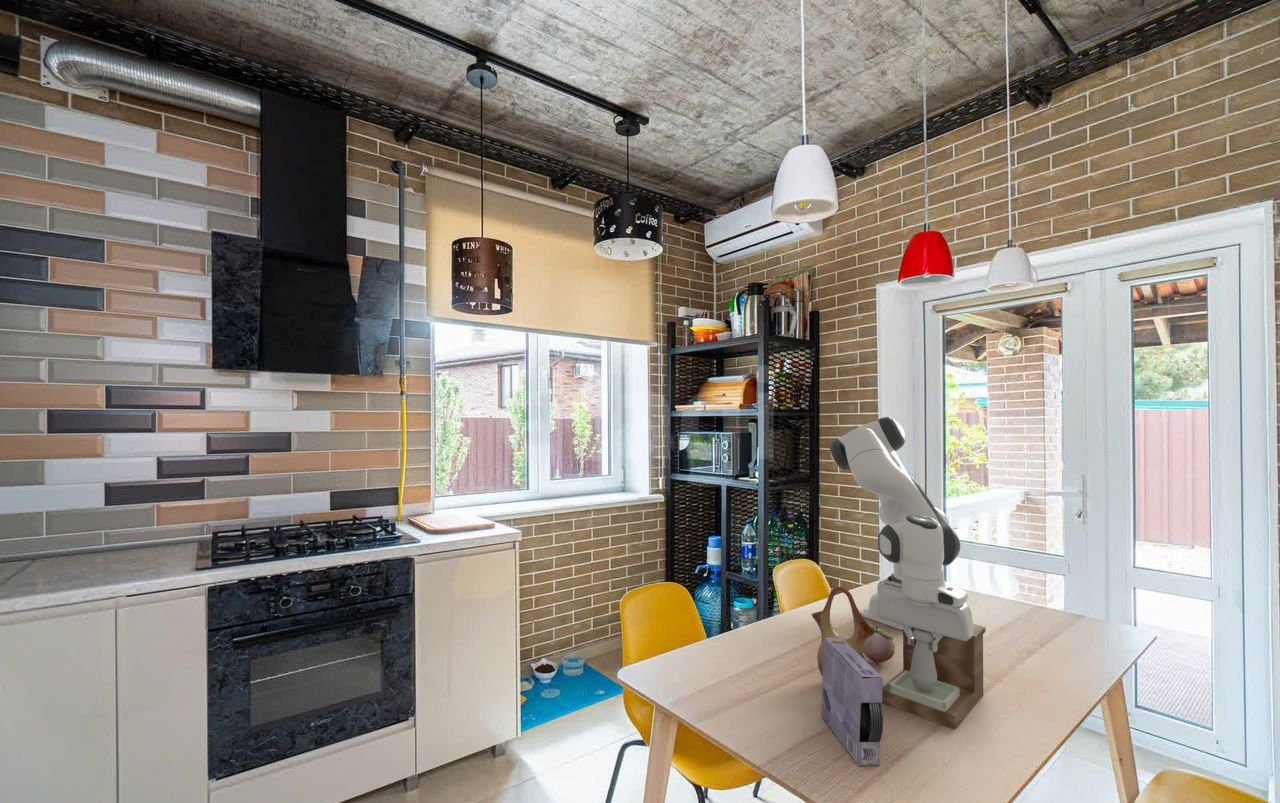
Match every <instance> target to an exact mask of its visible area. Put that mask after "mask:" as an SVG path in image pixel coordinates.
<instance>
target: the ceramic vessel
mask: <svg viewBox="0 0 1280 803" xmlns="http://www.w3.org/2000/svg"><path fill="white" fill-rule="evenodd" d="M837 592H840V593H843V594H845V595H846V596H847V599H848V602H849V605H850V608H851V613H852V616H853V617H852V618H853V626H854V627H853V633H852V635H851V636H849V637H845V636H843V635H840V634H839V633H838V632H837V631H836V630H835V629H834V627H833V626H832V622H831V608H832V605H833V604H832V602H833V600H834V597H835V595H836V593H837ZM859 610H860V609H859V608H858V607H857V604H856V601H855V599H854V597H853V595H852V593H851V592H850V591H849V590H848V589H847V588H845V587H843V586H836V587H833V588H832V589H831V590H830V593H829V595H828V597H827V600H826V603H825V605H824V607H823V609H822V610H821V611H816V612H813V613H811V618H813V620H814V621H815V623H816V624H817V626H818V628H819V630H820V636H821V639H820V640H821V641H820V644H819V647H818V650H817V656H816V659H817V666H818V670H819V674H820V675H821V678H823V653H824V639H825V638H843V639H844V640H845V641H846V642H847V643H848V644H849V645H850V646H851V647H852V648H853V649H854V650H855V651H856V652H857V653H858V654H859V655H860V656H861V657H862V658H863V659H864V660H865V661H866V656H865V654H864V653H863V651H862V647H863V644H864V642H865V640H866V639H867V638H869V637H870V636H872V635H873V634H874V633H875V631H874V629H873V628H874V627H872V626H871V625H869V624H868V623H867V621H866V620H865V617H863V616H862V613H861V612H860V611H859ZM866 662H867V661H866Z"/></svg>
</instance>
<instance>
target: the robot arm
mask: <svg viewBox="0 0 1280 803" xmlns="http://www.w3.org/2000/svg"><path fill="white" fill-rule="evenodd" d="M905 438H906V437H905V431H904V428H903V427H902V426H901V424H900V423H899V422H898V421H896V420H895V419H894V418H893V417H890V416H885V417H881V418H878V420H874V421H871V422H869V423H865V424H862V425H860V426H858V427H857V428H855V429H853V430H850V431H849V432H848V433H845V434H844V435H842V436H840V437H837V438H835V439H834V440H833V441H831V443H830V445H829V454H830V457H831V459H832V461H833V462H834V463H835V465H836V466H837V467H838V468H839V469H841V470H844V471H850V472H851V474H852V476H853V479H854V480H855V482H856V483H857V484H858V486H859V487H860V488H862V489H863V490H865V491H866V492H869V493H871V494H875V495H877V496H878V499H879V502H880V506H879V509H878V514H879V515H878V516H879V519H880V520H881V522H882V523H883V524H884V526H883V527H882V528H881V529H880V532H879V534H878V537H877V538H878V539H877V540H878V542H877V544H878V551H879V553H880V554H881V556H882V557H884V559H885V560H887V561H888V562H889V563H893V573H891V574H890V575H889V576H887V578H886V579H883V580H880V581H879V582H878V583H877V585H876V586H877V589H876V590H877V591H876V592H875V593H873V594H872V595H871V597H870V599H869V604H868V605H867V606H865V607H864V608H863V609H861V615H862V617H863V618H866V619H869V620H872V621H875V622H877V623H881V624H882V625H886V626H889V627H892V628H894V629H897V630H899V631H903V630H904V632H905V634H906V635H907V637H908V645H912V646H915V642H916V640H915V639H914V638H913V633H912V631H911V628H912V627H914V628H918V629H921V630H925V631H929V632H932V633H933V637H934V638H936V639H935V640H934V642H931V643H928V649H929V650H930V651H932V652H936V651H937V643H938V642H939V641H940V640H941V638H942V637H943V636H947V637H951V638H955V639H958V640H962V641H967V640H968V639H970V638H971V637H972V635H973V624H974V620H973V614H972V610H971V608H970V606H969V605H968V604H967V603H966V602H967V601H968V597H969V595H968V593H967V592H966V591H965V590H963V589H961V588H959V587H957V586H955V585H953V584H951V583H949V582H947V581H945V574H944V570H943V566H949V565H951V564H952V563H953V562H954V561H955V560H956V559H957V557H958V556H959V554H960V551H961V542H960V538H959V536H958V534H957V533H956V532H955V530H954V529H953V528H952V527H951V525H950V521H949V518H948V516H947V514H946V513H945V512H944V511H942V510H941V509H939V508H937V507H935V506H934V504H933V503H932V501H931V500H930V499H929V497H928V496H927V494H926V493H925V491H924V490H923V489H922V487H921V486H920V484H919V483H918V482H917V481H916V479H915V478H914V477H913V476H911V475H910V474H909V473H908V472H907V470H906V467H905V466H904V464H903V463H902V461H901V459H900V458H899V456H898V454H897V453H896V452H897V451H898V450H900V449H901V448H902V447H903V446H904V445H905V444H906V439H905Z"/></svg>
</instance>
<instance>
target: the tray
mask: <svg viewBox="0 0 1280 803" xmlns="http://www.w3.org/2000/svg"><path fill="white" fill-rule="evenodd" d="M889 692H890V693H893V694H896V695H899V696H902V697H904V698H907V699H910V700H913V701H916V702H918V703H921V704H924V705H927V706H930V707H933V708H935V709H938V710H941V711H944V712H946V711H947V710H948V708H949V707H950V706H951V705H952V704H953V703H954V702H955V700H956V699H957V698H958V697H959V696H960V688H959V687H956V686H953V685H950V684H947V683H943V682H940V681H937V682H936V684H935V685H934V687H933V689H932V690H931V691H930V690H921V689H919V688H917V687H915V686H914V684H913V682H912V680H911V678H910V675H909V671H906V670H905V671H904V672H903V673H902V674H900V675H899V676H898V677H897V678H896V679H895V680H893V681H892V682H891V683H890V684H889Z"/></svg>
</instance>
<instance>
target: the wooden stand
mask: <svg viewBox="0 0 1280 803" xmlns="http://www.w3.org/2000/svg"><path fill="white" fill-rule="evenodd" d="M914 629H915V628H914V627H912V628H911V631H912V633H913V630H914ZM985 633H986V626H983V625H978V624H974V623H973V635H972V637H971V638H970V639H968V640H967V641H962V640H958V639H955V638H951V637H947V636H943V637H942V638H941V640H940V641H939V642H938V643H937V651H936V652H933V656H934V662H935V667H936V672H937V681H940V682H943V683H947V684H950V685H953V686H956V687H959V688H960V696H959V697H958V698H957V699H956V700H955V702H954V703H953V704H952V705H951V706H950V707H949V708H948V710H947V711H946V712H944V711H941V710H938V709H935V708H933V707H930V706H927V705H924V704H921V703H918V702H916V701H913V700H910V699H907V698H904V697H902V696H899V695H896V694H893V693H890V692H889V684H890V683H891V682H892V681H893V680H895V679H896V678H897V677H898V676H899V675H900V674H902V673H903V672H904V671H905V670H906V671H909V672H910V668H911V663H912V658H913V652H914V647H915V646H912V645H908V637H907V635H906V634H905V632H904V630H902V662H903V663H902V665H903V666H902V670H901V671H900V672H899V673H897V674H896V675H895V676H894V677H892V678H891V679H890V680H889V681H888V682H886V684H884V685H883V686H882V702H881V704H885V705H888V706H891V707H893V708H896V709H898V710H901V711H904V712H906V713H910V714H912V715H915V716H917V717H921V718H924V719H926V720H929V721H930V722H933V723H937V724H939V725H941V726H945V727H947V728H949V729H953V730H957V728H958V727H959V726H960V725H961V723H963V722H964V720H965V718H966V717H967V716H968V715H969V714H970V712H971V711H972V710H973V709H974V707H975V706H976V705H977V704H978V702H980V700H981V699H982V697H983V696H984V634H985ZM935 639H936V638H934V639H933V642H934V640H935Z"/></svg>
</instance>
